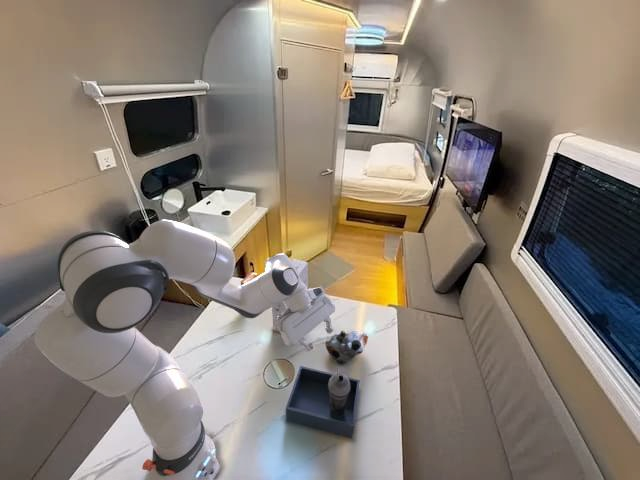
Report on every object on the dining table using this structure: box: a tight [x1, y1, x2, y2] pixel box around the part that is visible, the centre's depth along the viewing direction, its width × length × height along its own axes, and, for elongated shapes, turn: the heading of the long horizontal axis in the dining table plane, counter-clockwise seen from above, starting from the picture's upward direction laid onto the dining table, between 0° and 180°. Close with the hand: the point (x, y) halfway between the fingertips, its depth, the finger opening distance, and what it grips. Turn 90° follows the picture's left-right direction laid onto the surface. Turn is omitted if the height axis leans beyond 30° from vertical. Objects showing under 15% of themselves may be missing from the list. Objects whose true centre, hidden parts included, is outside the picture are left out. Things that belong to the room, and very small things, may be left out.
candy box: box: [240, 271, 259, 285], centre depth 133 cm, size 9×4×15 cm, turn 159°
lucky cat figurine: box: [325, 330, 369, 364], centre depth 110 cm, size 15×12×14 cm
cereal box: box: [271, 258, 309, 333], centre depth 124 cm, size 22×8×25 cm, turn 159°
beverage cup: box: [328, 367, 351, 414], centre depth 87 cm, size 7×7×20 cm
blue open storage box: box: [285, 365, 361, 440], centre depth 92 cm, size 16×22×7 cm
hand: (321, 340), depth 84 cm, fingers open, 8 cm apart
